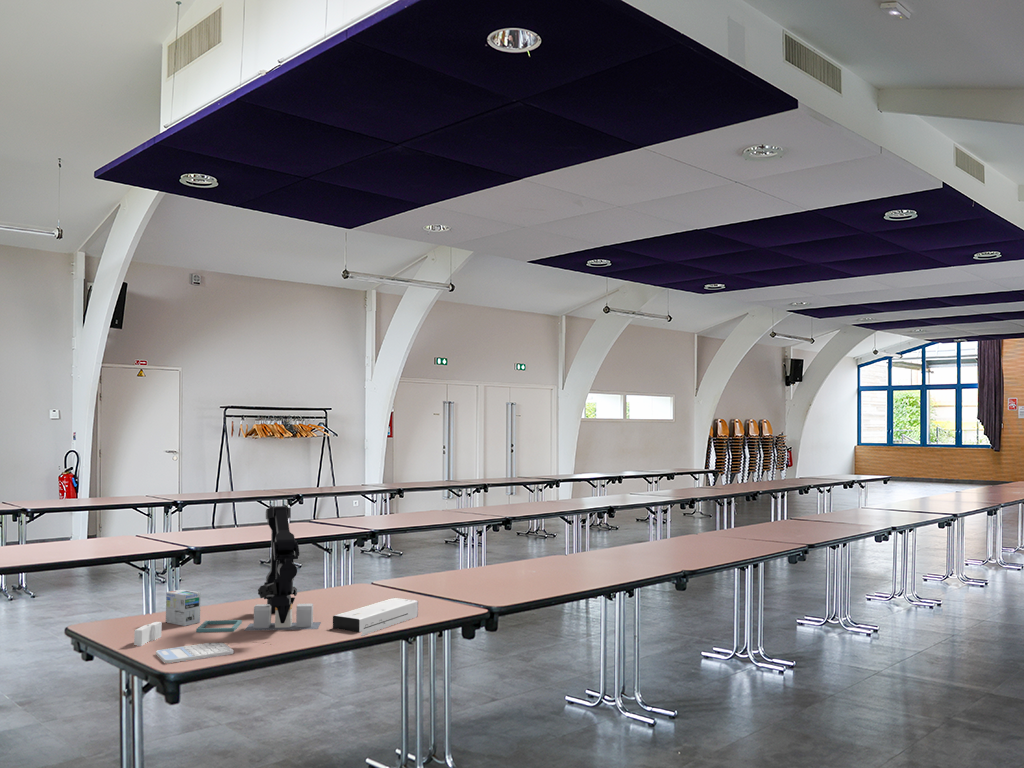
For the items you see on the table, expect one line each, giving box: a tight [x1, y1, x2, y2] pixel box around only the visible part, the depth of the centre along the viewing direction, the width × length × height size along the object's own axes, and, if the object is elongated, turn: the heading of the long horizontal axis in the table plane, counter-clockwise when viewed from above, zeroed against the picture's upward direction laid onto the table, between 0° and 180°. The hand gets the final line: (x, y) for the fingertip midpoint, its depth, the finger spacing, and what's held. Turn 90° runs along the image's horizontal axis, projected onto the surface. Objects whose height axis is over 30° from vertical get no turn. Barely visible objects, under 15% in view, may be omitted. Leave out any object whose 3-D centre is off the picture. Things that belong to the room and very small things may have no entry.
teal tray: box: [195, 619, 242, 633], centre depth 279 cm, size 12×12×2 cm
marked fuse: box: [274, 604, 293, 628], centre depth 281 cm, size 4×5×7 cm
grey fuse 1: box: [253, 603, 272, 628], centre depth 280 cm, size 4×5×7 cm
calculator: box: [155, 642, 234, 664], centre depth 252 cm, size 13×20×2 cm, turn 126°
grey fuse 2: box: [295, 603, 314, 627], centre depth 282 cm, size 4×5×7 cm
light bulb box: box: [165, 589, 202, 627], centre depth 292 cm, size 11×7×11 cm, turn 59°
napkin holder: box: [133, 621, 163, 647], centre depth 266 cm, size 15×11×6 cm
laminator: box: [332, 597, 419, 637], centre depth 291 cm, size 34×12×6 cm, turn 152°
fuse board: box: [243, 621, 322, 632], centre depth 281 cm, size 10×24×2 cm, turn 96°
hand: (283, 621), depth 281 cm, fingers closed on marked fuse, 4 cm apart
